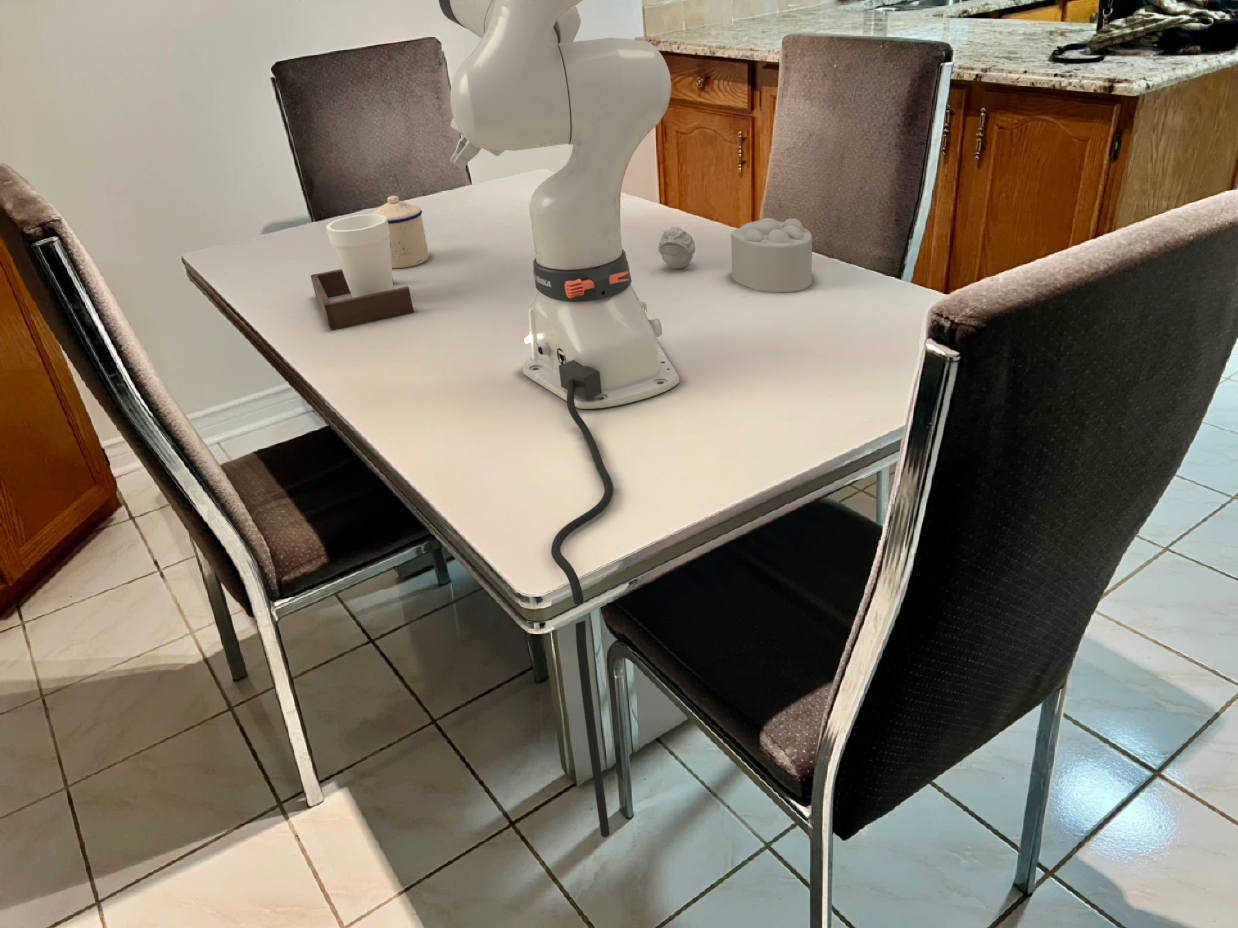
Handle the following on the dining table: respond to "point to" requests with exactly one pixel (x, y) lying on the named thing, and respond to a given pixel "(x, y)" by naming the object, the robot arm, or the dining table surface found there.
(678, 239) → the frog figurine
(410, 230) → the teacup with lid
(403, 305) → the bay
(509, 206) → the dining table surface
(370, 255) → the foam cup
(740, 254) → the lumpy-topped squat cylinder
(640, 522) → the dining table surface
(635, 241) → the dining table surface
